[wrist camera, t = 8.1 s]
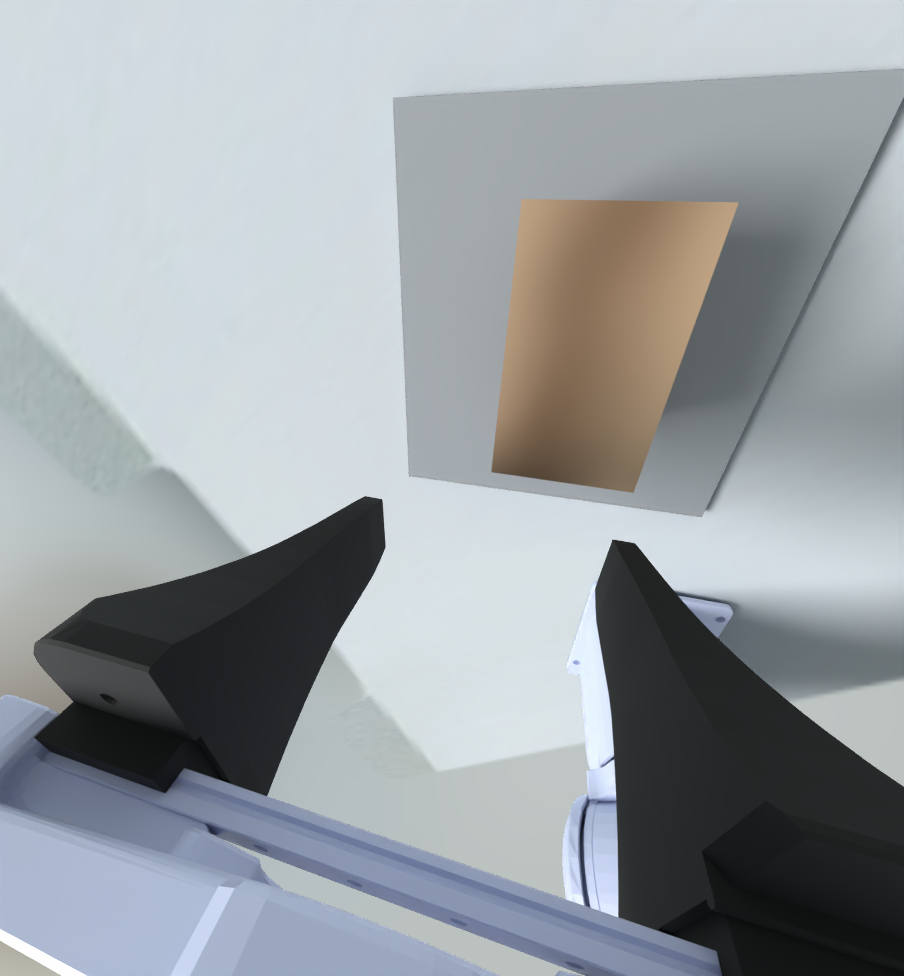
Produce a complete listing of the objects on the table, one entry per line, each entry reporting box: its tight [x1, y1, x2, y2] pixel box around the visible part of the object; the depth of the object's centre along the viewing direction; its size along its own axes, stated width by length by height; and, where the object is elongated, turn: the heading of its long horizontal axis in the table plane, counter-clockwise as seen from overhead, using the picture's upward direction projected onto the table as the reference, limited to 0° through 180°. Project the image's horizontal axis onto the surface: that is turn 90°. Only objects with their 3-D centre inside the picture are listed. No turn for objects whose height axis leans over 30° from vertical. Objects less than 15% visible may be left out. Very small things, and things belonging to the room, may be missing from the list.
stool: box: [491, 199, 739, 493], centre depth 13 cm, size 5×8×6 cm, turn 178°
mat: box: [393, 69, 904, 517], centre depth 16 cm, size 16×16×1 cm
